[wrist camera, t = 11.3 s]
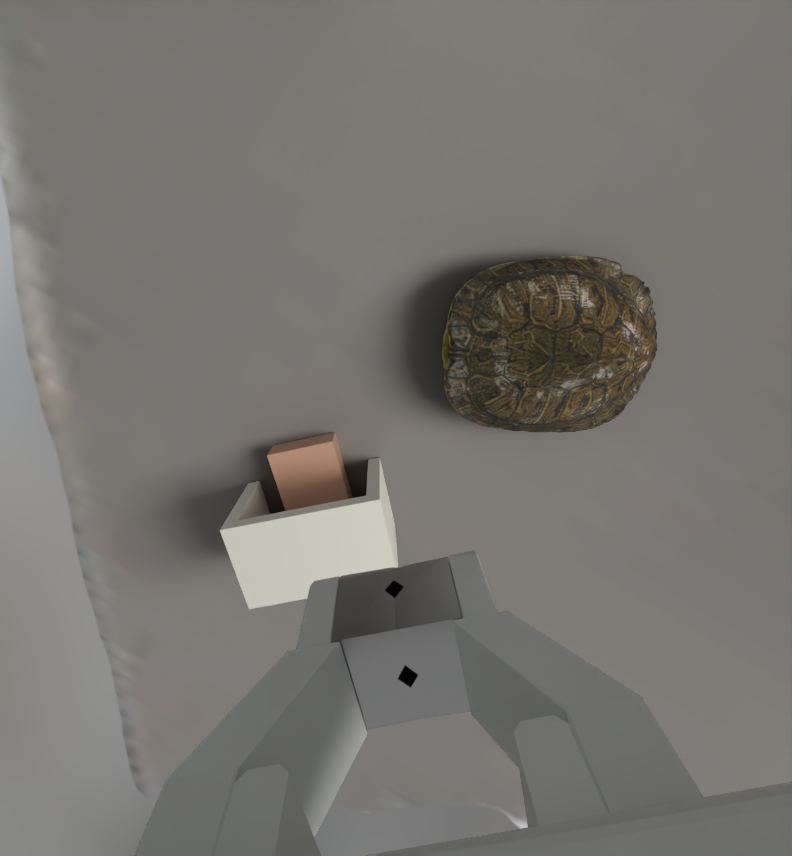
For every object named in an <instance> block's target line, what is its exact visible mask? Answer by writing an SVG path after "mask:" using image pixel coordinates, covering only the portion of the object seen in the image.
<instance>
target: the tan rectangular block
mask: <svg viewBox="0 0 792 856" xmlns="http://www.w3.org/2000/svg"><path fill="white" fill-rule="evenodd" d="M267 457H268V460H269V463H270V466H271V469H272V472H273V475H274V478H275V481H276V484H277V487H278V490H279V493H280V496H281V499H282V502H283V505H284V508H285V511H289V510H294V509H299V508H304V507H309V506H314V505H320V504H325V503H330V502H335V501H340V500H345V499H351V498H353V496H352V493H351V489H350V486H349V482H348V478H347V475H346V471H345V468H344V464H343V460H342V457H341V453H340V449H339V446H338V442H337V439H336V435H335V432H334V433H329V434H324V435H320V436H315V437H310V438H306V439H301V440H296V441H292V442H287V443H283V444H278V445H273V446H272V448H271V449H270V451H269V453H268V454H267Z"/></svg>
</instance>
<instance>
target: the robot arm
mask: <svg viewBox="0 0 792 856" xmlns="http://www.w3.org/2000/svg"><path fill="white" fill-rule="evenodd" d="M465 712H471V715H472V716H473V717H474V718H475V719H476V720H477V721H478V723H479V724H480V725H481V726H482V727H483V728H484V729H485V730H486V732H487V733H488V734H489V735H490V736H491V737H492V738H493V740H494V741H495V742H496V743H497V744H498V745H499V746H500V748H501V749H502V750H503V751H504V752H505V753H506V754H507V756H508V757H509V758H510V759H511V760H512V761H513V762H514V764H515V765H516V766H517V767H518V768H519V771H520V778H521V784H522V791H523V797H524V804H525V811H526V817H527V824H528V828H523V829H517V830H511V831H506V832H500V833H494V834H488V835H482V836H476V837H470V838H464V839H459V840H453V841H447V842H441V843H435V844H429V845H423V846H417V847H412V848H406V849H401V850H394V851H389V852H383V853H376V854H370V855H365V856H792V782H789V783H783V784H777V785H771V786H766V787H760V788H754V789H748V790H742V791H736V792H730V793H725V794H719V795H713V796H707V797H703V795H702V794H701V792H700V790H699V789H698V787H697V785H696V784H695V782H694V781H693V779H692V777H691V776H690V774H689V772H688V771H687V769H686V768H685V766H684V764H683V763H682V761H681V760H680V758H679V756H678V755H677V753H676V751H675V750H674V748H673V747H672V745H671V743H670V742H669V740H668V738H667V737H666V735H665V734H664V732H663V730H662V729H661V727H660V725H659V724H658V722H657V721H656V719H655V717H654V716H653V714H652V713H651V711H650V709H649V708H648V706H647V704H646V703H645V701H644V700H643V698H642V697H641V696H640V695H638V694H636V693H635V692H633V691H632V690H630V689H629V688H627V687H625V686H624V685H622V684H621V683H619V682H618V681H616V680H615V679H613V678H611V677H610V676H608V675H607V674H605V673H604V672H602V671H601V670H599V669H597V668H596V667H594V666H593V665H591V664H590V663H588V662H586V661H585V660H583V659H582V658H580V657H579V656H577V655H576V654H574V653H572V652H571V651H569V650H568V649H566V648H565V647H563V646H561V645H560V644H558V643H557V642H555V641H554V640H552V639H551V638H549V637H547V636H546V635H544V634H543V633H541V632H540V631H538V630H537V629H535V628H533V627H532V626H530V625H529V624H527V623H526V622H524V621H522V620H521V619H519V618H518V617H516V616H515V615H513V614H512V613H510V612H508V611H501V612H498V610H497V607H496V605H495V602H494V599H493V596H492V593H491V590H490V588H489V585H488V582H487V579H486V576H485V573H484V571H483V568H482V565H481V562H480V559H479V556H478V554H477V552H476V551H475V550H472V551H468V552H464V553H459V554H455V555H450V556H448V557H444V558H439V559H434V560H429V561H424V562H420V563H415V564H410V565H405V566H400V567H395V568H394V567H391V568H385V569H379V570H373V571H367V572H361V573H355V574H349V575H343V576H341V577H339V576H338V577H332V578H327V579H322V580H317V581H314V582H313V583H312V584H311V586H310V589H309V593H308V598H307V602H306V607H305V611H304V616H303V620H302V625H301V630H300V634H299V639H298V643H297V648H296V650H291V651H287V652H286V653H285V654H284V656H283V657H282V658H281V659H280V660H279V661H278V662H277V663H276V664H275V665H274V666H273V667H272V668H271V669H270V670H269V671H268V673H267V674H266V675H265V676H264V677H263V678H262V679H261V680H260V681H259V682H258V683H257V684H256V685H255V686H254V687H253V688H252V689H251V691H250V692H249V693H248V694H247V695H246V696H245V697H244V698H243V699H242V700H241V701H240V702H239V703H238V704H237V705H236V706H235V708H234V709H233V710H232V711H231V712H230V713H229V714H228V715H227V716H226V717H225V718H224V719H223V720H222V721H221V722H220V723H219V725H218V726H217V727H216V728H215V729H214V730H213V731H212V732H211V733H210V734H209V735H208V736H207V737H206V738H205V739H204V740H203V741H202V743H201V744H200V745H199V746H198V747H197V748H196V749H195V750H194V751H193V752H192V753H191V754H190V755H189V756H188V757H187V758H186V760H185V761H184V762H183V763H182V764H181V765H180V766H179V767H178V768H177V769H176V770H175V771H174V772H173V773H172V774H171V775H170V776H169V778H168V779H167V780H166V781H165V783H164V785H163V788H162V790H161V792H160V795H159V797H158V800H157V802H156V804H155V807H154V809H153V812H152V814H151V816H150V819H149V821H148V823H147V826H146V828H145V831H144V833H143V835H142V838H141V840H140V842H139V845H138V847H137V849H136V852H135V854H134V856H321V854H320V852H319V849H318V846H317V844H316V841H315V839H314V837H315V835H316V833H317V831H318V829H319V827H320V825H321V823H322V821H323V819H324V817H325V816H326V814H327V812H328V810H329V808H330V806H331V804H332V802H333V800H334V798H335V796H336V794H337V792H338V790H339V788H340V786H341V784H342V782H343V780H344V778H345V777H346V775H347V773H348V771H349V769H350V767H351V765H352V763H353V761H354V759H355V757H356V755H357V753H358V751H359V749H360V747H361V745H362V743H363V741H364V739H365V738H366V736H367V731H366V730H371V729H375V728H380V727H385V726H390V725H394V724H399V723H404V722H408V721H413V720H418V718H419V719H425V718H431V717H438V716H445V715H451V714H458V713H465Z"/></svg>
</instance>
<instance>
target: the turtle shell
mask: <svg viewBox="0 0 792 856" xmlns="http://www.w3.org/2000/svg"><path fill="white" fill-rule="evenodd" d="M652 304H653V301H652V299H651V297H650V290H649V288H648V287H646V286H644V282H642V281H641V280H640V279H639V278H638V277H637V276H633V275H628V274H625V273H624V272H623V271H622V270H621V265H620V264H618V263H617V262H614V261H610V260H607V259H604V258H599V257H589V256H559V257H551V258H537V259H529V260H521V261H514V262H509V263H504V264H500V265H497V266H493V267H490V268H488V269H486V270H484V271H481V272H479V274H478V275H477V276H476V277H474V278H472V279H470V280H468V281H467V282H466V284H465V285H464V286H463V287H462V288H461V289H460V290H459V291H458V293H457V294H456V296H455V298H454V300H453V302H452V305H451V307H450V310H449V314H448V320H447V324H446V330H445V332H444V334H443V347H442V360H443V363H444V365H443V368H444V369H445V373H444V388H445V393H446V396H447V398H448V400H449V402H450V404H451V406H452V407H453V408H454V409H455V410H456V411H457V412H458V413H459V414H461V415H462V416H463V417H465V418H466V419H468V420H470V421H472V422H475V423H477V424H480V425H483V426H487V427H493V428H500V429H506V430H512V431H529V432H574V431H579V430H587V429H592V428H594V427H597V426H600V425H602V424H603V423H605V422H609V421H611V420H612V419H614V418H615V417H616V416H618V415H619V414H620V413H621V412H622V411H623V410H624V408H625V406H626V405H627V404H628V402H629V401H630V400H632V398H633V396H634V395H635V394H637V392H638V390H639V388H640V385H641V383H642V382H643V381H644V379H645V376H646V374H647V372H648V371H649V369H650V368H651V363H652V361H653V360H654V357H655V355H656V353H655V352H656V351H657V343H656V339H657V332H656V328H655V326H656V321H655V318H654V316H655V312H654V309H653V308H652Z"/></svg>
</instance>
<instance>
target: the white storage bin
mask: <svg viewBox="0 0 792 856" xmlns="http://www.w3.org/2000/svg"><path fill="white" fill-rule="evenodd" d="M220 533H221V535H222V538H223V541H224V543H225V546H226V549H227V551H228V554H229V557H230V559H231V562H232V565H233V567H234V570H235V573H236V575H237V578H238V581H239V583H240V586H241V589H242V591H243V594H244V597H245V599H246V602H247V605H248V607H249V609H253V608H258V607H264V606H269V605H274V604H280V603H285V602H290V601H296V600H301V599H306V598H308V593H309V589H310V586H311V584H312V583H313V582H314V581H317V580H322V579H327V578H332V577H338V576H339V577H341V576H343V575H349V574H355V573H361V572H367V571H373V570H379V569H385V568H391V567H394V568H395V567H398V560H397V545H396V529H395V523H394V519H393V515H392V510H391V506H390V501H389V497H388V493H387V488H386V484H385V479H384V475H383V470H382V466H381V462H380V457H379V458H374V459H369V460H368V472H367V490H366V496H361V497H356V498H351V499H345V500H340V501H335V502H330V503H325V504H320V505H314V506H309V507H304V508H299V509H294V510H289V511H283V512H278V513H273V514H270V511H269V508H268V505H267V502H266V499H265V496H264V493H263V490H262V487H261V484H260V481H256V482H251V483H248V485H247V486H246V488H245V489H244V491H243V493H242V494H241V496H240V498H239V499H238V501H237V503H236V504H235V506H234V508H233V509H232V511H231V512H230V514H229V516H228V517H227V519H226V521H225V522H224V524H223V526H222V527H221V529H220Z"/></svg>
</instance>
